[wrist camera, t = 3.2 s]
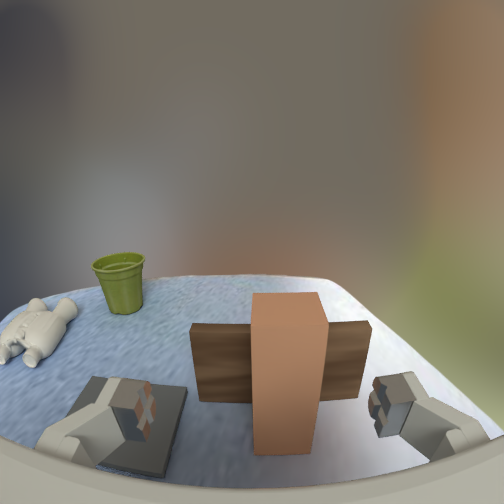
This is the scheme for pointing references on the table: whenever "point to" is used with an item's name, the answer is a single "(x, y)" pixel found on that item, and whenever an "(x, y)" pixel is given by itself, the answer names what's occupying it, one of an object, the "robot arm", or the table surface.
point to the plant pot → (121, 280)
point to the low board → (240, 364)
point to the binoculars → (36, 331)
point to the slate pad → (161, 435)
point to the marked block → (286, 370)
